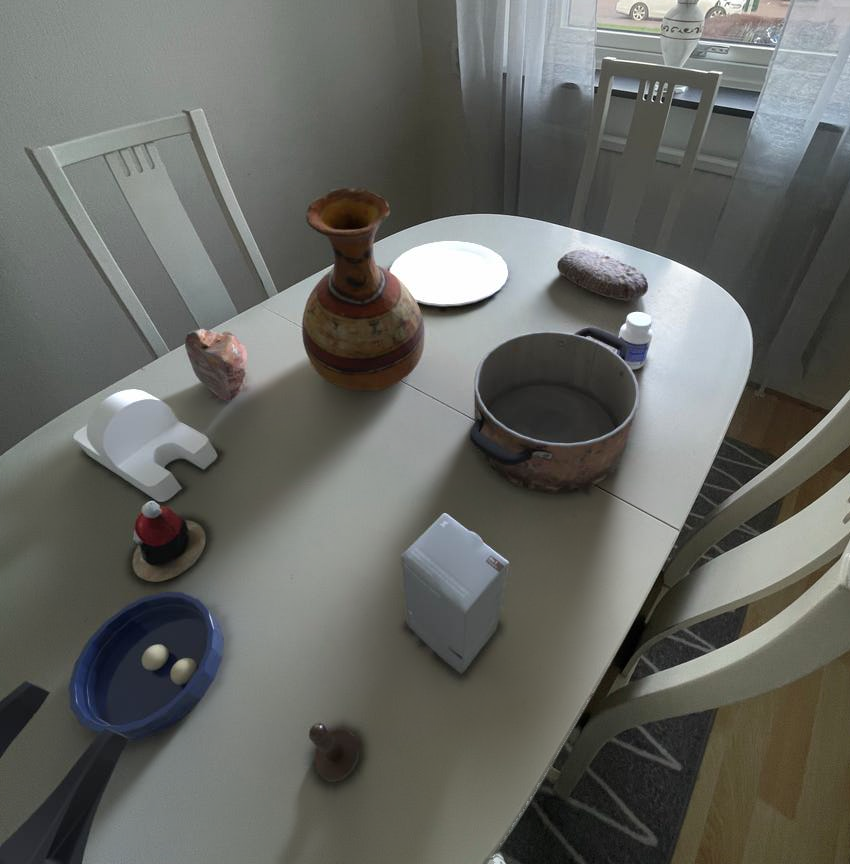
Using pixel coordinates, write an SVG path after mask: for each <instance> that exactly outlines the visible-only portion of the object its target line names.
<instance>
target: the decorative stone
mask: <svg viewBox="0 0 850 864" xmlns="http://www.w3.org/2000/svg"><path fill="white" fill-rule="evenodd" d="M556 267H557V270H558V272H559V273H560V274H561V275H562V276H563V277H565V278H567V279H569V280H570V281H571V282H573V283H575V284H576V285H578V286H580V287H582V288H584V289H586V290H587V291H590V292H592V293H595V294H597V295H601V296H604V297H607V298H610V299H615V300H620V301H634V300H639V299H641V298H643V297H644V296H645V295H646V294H647V292H648V290H649V283H648V280H647V278H646V277H645V275H644V274H643V273H642V272H641V271H640V270H638V269H636V267H633V266H631V264H629V263H627V262H626V261H624V260H620V259H617V258H615V257H611V256H610V255H605V254H604V253H602V252H601V253H598V252H597V251H591V250H588V249H587V250H586V249H576V250H573V251H570V252H568V253H566V254H564V255H563V256H562V257H560V259H559V260H558V261H557V265H556Z"/></svg>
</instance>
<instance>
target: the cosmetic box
mask: <svg viewBox="0 0 850 864" xmlns="http://www.w3.org/2000/svg"><path fill="white" fill-rule="evenodd" d="M400 560H401V570H402V579H403V580H402V581H403V591H404V592H403V594H404V601H405V602H404V603H405V612H406V613H405V614H406V622H407V627H408V628H410V629H411V630H412V631H413V633H415V635H417V636H418V638H420V639H421V640H422V641H423V642H424V643H425V644H426V646H428V648H430V649H431V650H432V651H433V652H434V653H436V654H437V655H438V657H440V658H441V659H442V660H443V661H445V663H447V664H448V665H449V666H450V667H451V668H453V669H454V670H455V671H457V672H458V673H459V674H463V673H464V672H465V671H466V670H467V668H468V667H469V666H470V665H471V663H472V662H473V661H474V659H475V658H476V656H477V655H478V654H479V653H480V651H481V650H482V649H483V648H484V646H485V645H486V643H487V642H488V641H489V640H490V639H491V638H492V636H493V635H494V633H495V632H496V630H497V629H498V625H499V619H500V614H501V613H500V612H501V607H502V602H503V597H504V590H505V584H506V580H507V574H508V570H509V566H510V562H509V561H508V560H507V559H506V558H504V557H503V556H501V555H500V553H498V552H497V551H495V550H494V549H492V548H491V547H490V546H488V544H486V543H485V542H484V541H483V539H482V538H481V536H480V535H479V534H478V533H476V532H474V531H470V530H468V529H467V528H466V527H465V526H463V525H462V524H461V523H460V522H458V521H457V520H455V519H454V518H453V517H451V515H449V514H447V513H442V514H441V515H440V516H439V517H438V518H437V519H436V520H435V521H434V522H433V523H432V524H431V525H430V526H429V527H428V528H427V529H426V530H425V531H424V532H423V533H422V534H421V535H420V536H419V537H418V538H417V539H416V540H415V541H414V543H412V545H410V546H409V548H408V549H406V550H405V552H403V553H402V554H401V556H400Z"/></svg>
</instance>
